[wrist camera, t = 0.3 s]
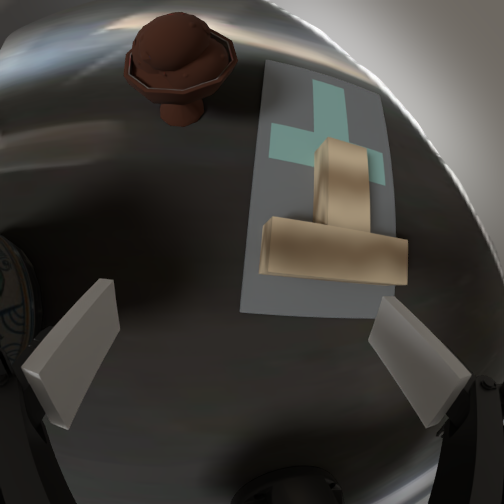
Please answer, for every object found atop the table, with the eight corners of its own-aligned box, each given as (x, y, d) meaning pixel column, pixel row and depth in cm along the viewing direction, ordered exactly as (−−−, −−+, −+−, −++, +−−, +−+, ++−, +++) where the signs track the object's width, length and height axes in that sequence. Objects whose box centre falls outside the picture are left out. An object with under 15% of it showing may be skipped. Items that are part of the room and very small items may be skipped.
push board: (390, 318, 30) (392, 318, 30) (239, 311, 27) (240, 312, 27) (378, 96, 35) (380, 94, 35) (265, 61, 32) (266, 59, 32)
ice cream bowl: (242, 123, 30) (273, 28, 16) (155, 161, 28) (128, 66, 13) (205, 69, 30) (215, -20, 16) (127, 99, 28) (102, 10, 13)
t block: (386, 285, 30) (407, 284, 26) (258, 274, 28) (267, 271, 24) (384, 172, 33) (402, 161, 29) (269, 142, 30) (279, 124, 26)
